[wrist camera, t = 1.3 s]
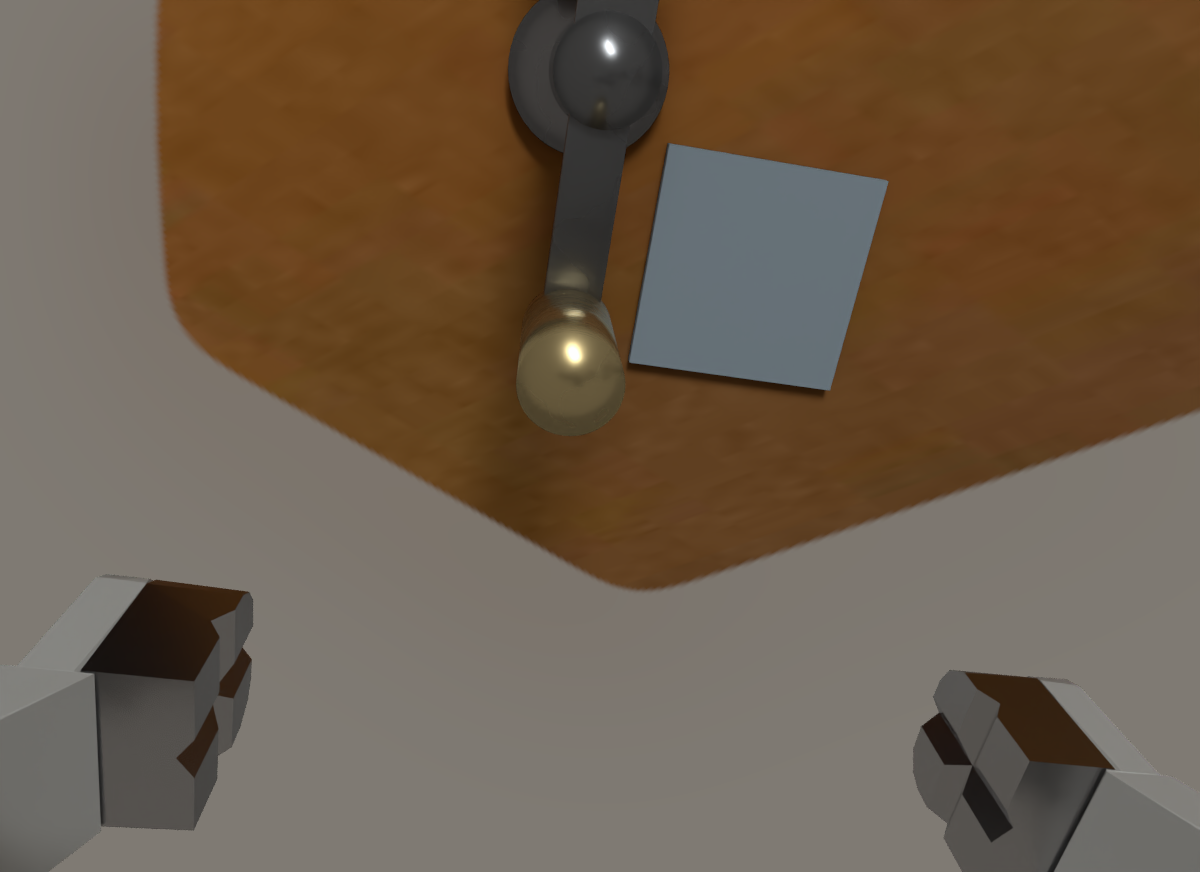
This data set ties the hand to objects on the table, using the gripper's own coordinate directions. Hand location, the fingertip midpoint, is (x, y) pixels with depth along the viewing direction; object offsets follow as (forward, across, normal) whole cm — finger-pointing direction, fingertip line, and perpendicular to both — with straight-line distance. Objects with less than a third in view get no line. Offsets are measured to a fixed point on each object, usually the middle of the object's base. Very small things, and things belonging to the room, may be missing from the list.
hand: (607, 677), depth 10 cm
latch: (+17, 0, -8) cm, 19 cm away
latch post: (+27, 0, -7) cm, 28 cm away
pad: (+27, -8, 0) cm, 28 cm away
